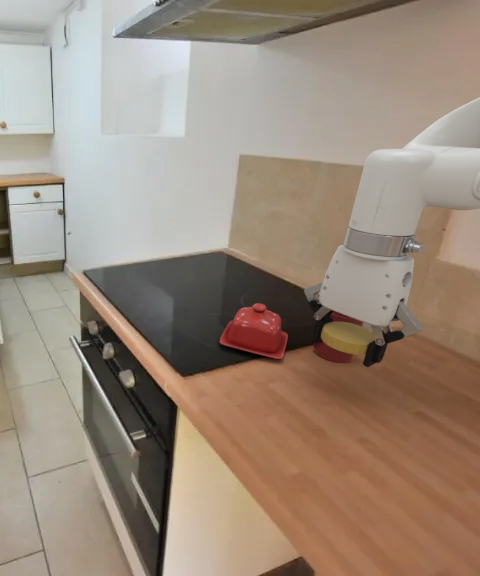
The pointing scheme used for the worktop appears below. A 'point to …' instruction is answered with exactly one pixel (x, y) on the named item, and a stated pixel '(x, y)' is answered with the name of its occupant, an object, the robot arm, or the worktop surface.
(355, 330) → the lid
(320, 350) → the jam jar
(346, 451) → the worktop surface
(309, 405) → the worktop surface
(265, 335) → the butter dish
